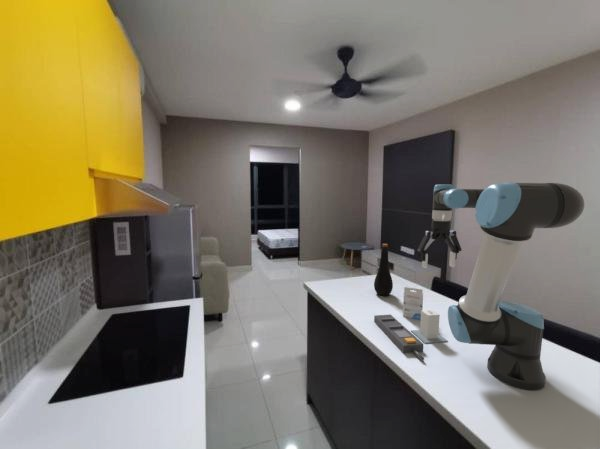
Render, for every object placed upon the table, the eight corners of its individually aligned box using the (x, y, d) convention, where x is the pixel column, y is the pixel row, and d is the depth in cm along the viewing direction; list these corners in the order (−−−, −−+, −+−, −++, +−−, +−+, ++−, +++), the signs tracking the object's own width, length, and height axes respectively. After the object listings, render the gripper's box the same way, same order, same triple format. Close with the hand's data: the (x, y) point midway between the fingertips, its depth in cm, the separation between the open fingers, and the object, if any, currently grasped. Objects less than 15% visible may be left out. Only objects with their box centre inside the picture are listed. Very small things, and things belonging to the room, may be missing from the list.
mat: (447, 341, 113) (447, 340, 113) (424, 343, 111) (424, 342, 111) (432, 329, 123) (432, 328, 123) (411, 331, 121) (411, 330, 121)
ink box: (422, 316, 136) (424, 286, 135) (421, 320, 132) (423, 289, 130) (403, 312, 140) (405, 283, 139) (402, 316, 136) (403, 286, 134)
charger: (438, 338, 115) (439, 313, 114) (426, 338, 114) (428, 314, 113) (430, 332, 120) (432, 308, 119) (419, 332, 119) (421, 309, 118)
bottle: (369, 292, 168) (371, 243, 165) (383, 290, 172) (385, 242, 169) (382, 298, 158) (384, 246, 155) (396, 296, 163) (398, 245, 160)
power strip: (432, 360, 100) (433, 350, 99) (412, 362, 98) (412, 352, 98) (390, 320, 131) (390, 312, 131) (374, 321, 130) (374, 313, 129)
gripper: (460, 218, 128) (457, 263, 131) (410, 219, 124) (408, 266, 127) (473, 220, 121) (469, 268, 124) (420, 221, 117) (417, 270, 119)
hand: (438, 267), depth 125 cm, fingers open, 13 cm apart
